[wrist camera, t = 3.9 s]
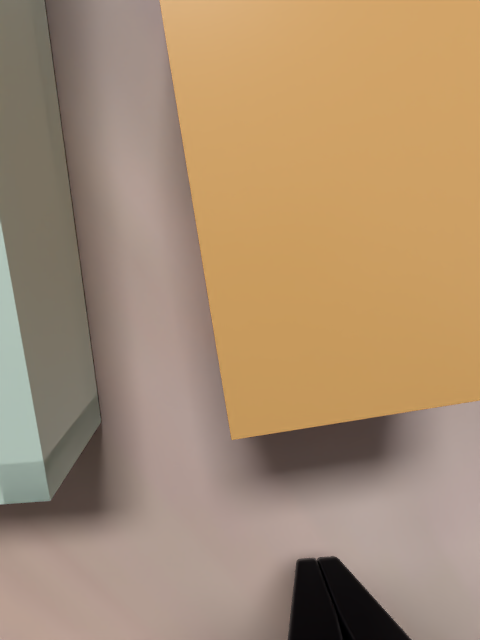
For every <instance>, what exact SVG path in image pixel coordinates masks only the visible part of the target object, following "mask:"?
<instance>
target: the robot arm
mask: <svg viewBox="0 0 480 640" xmlns="http://www.w3.org/2000/svg"><path fill="white" fill-rule="evenodd" d="M288 640H411V639H410V638H409V636H408V635H407V634H406V633H405V632H404V631H403V630H402V629H401V628H400V626H399V625H398V624H397V623H396V622H395V621H394V620H393V619H392V618H391V616H390V615H389V614H388V613H387V612H386V611H385V610H384V609H383V608H382V607H381V605H380V604H379V603H378V602H377V601H376V600H375V599H374V598H373V597H372V595H371V594H370V593H369V592H368V591H367V590H366V589H365V588H364V587H363V585H362V584H361V583H360V582H359V581H358V580H357V579H356V578H355V577H354V575H353V574H352V573H351V572H350V571H349V570H348V569H347V568H346V567H345V565H344V564H343V563H342V562H341V561H340V560H339V559H338V558H337V557H335V556H331V557H320V558H318V559H317V560H316V559H315V558H305V559H298V560H297V562H296V570H295V579H294V588H293V597H292V606H291V615H290V624H289V633H288Z"/></svg>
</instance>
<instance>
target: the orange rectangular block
mask: <svg viewBox="0 0 480 640" xmlns="http://www.w3.org/2000/svg"><path fill="white" fill-rule="evenodd" d="M159 1H160V7H161V13H162V19H163V25H164V31H165V37H166V43H167V49H168V56H169V62H170V68H171V74H172V80H173V86H174V92H175V98H176V104H177V110H178V117H179V123H180V129H181V135H182V141H183V147H184V153H185V159H186V165H187V172H188V178H189V184H190V190H191V196H192V202H193V208H194V214H195V220H196V226H197V233H198V239H199V245H200V251H201V257H202V263H203V269H204V275H205V281H206V287H207V294H208V300H209V306H210V312H211V318H212V324H213V330H214V336H215V342H216V348H217V355H218V361H219V367H220V373H221V379H222V385H223V391H224V397H225V403H226V410H227V416H228V422H229V428H230V434H231V440H235V439H241V438H248V437H254V436H260V435H267V434H273V433H279V432H285V431H292V430H298V429H304V428H310V427H317V426H323V425H329V424H335V423H342V422H348V421H354V420H360V419H367V418H373V417H379V416H385V415H392V414H398V413H404V412H410V411H417V410H423V409H429V408H436V407H442V406H448V405H454V404H461V403H467V402H473V401H479V400H480V0H159Z"/></svg>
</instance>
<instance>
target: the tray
mask: <svg viewBox="0 0 480 640" xmlns="http://www.w3.org/2000/svg"><path fill="white" fill-rule="evenodd" d="M100 423H101V417H100V409H99V402H98V394H97V387H96V380H95V372H94V365H93V357H92V350H91V342H90V335H89V327H88V320H87V313H86V305H85V298H84V290H83V283H82V275H81V268H80V261H79V253H78V246H77V238H76V231H75V223H74V216H73V209H72V201H71V194H70V186H69V179H68V171H67V164H66V157H65V149H64V142H63V134H62V127H61V119H60V112H59V105H58V97H57V90H56V82H55V75H54V67H53V60H52V53H51V45H50V38H49V30H48V23H47V15H46V8H45V1H44V0H0V504H13V503H27V502H41V501H51V499H52V498H53V496H54V495H55V493H56V491H57V490H58V488H59V487H60V485H61V484H62V482H63V481H64V479H65V477H66V476H67V474H68V473H69V471H70V470H71V468H72V467H73V465H74V463H75V462H76V460H77V459H78V457H79V456H80V454H81V453H82V451H83V449H84V448H85V446H86V445H87V443H88V442H89V440H90V439H91V437H92V435H93V434H94V432H95V431H96V429H97V428H98V426H99V425H100Z"/></svg>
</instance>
